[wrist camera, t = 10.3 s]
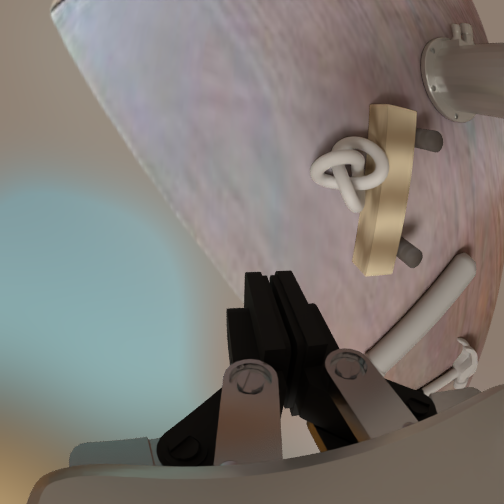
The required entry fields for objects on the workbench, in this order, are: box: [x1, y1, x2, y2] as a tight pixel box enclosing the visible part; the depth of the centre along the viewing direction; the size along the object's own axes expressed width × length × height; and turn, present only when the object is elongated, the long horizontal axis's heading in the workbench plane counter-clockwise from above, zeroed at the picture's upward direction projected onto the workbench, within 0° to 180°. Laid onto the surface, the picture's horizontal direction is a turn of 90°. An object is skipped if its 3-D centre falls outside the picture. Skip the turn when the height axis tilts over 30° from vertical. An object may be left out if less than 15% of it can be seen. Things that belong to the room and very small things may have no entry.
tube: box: [364, 252, 476, 377], centre depth 41 cm, size 5×5×25 cm
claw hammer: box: [417, 338, 478, 396], centre depth 54 cm, size 5×22×30 cm
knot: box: [310, 137, 389, 213], centre depth 29 cm, size 8×8×6 cm
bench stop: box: [352, 104, 443, 276], centre depth 30 cm, size 20×7×6 cm, turn 179°
